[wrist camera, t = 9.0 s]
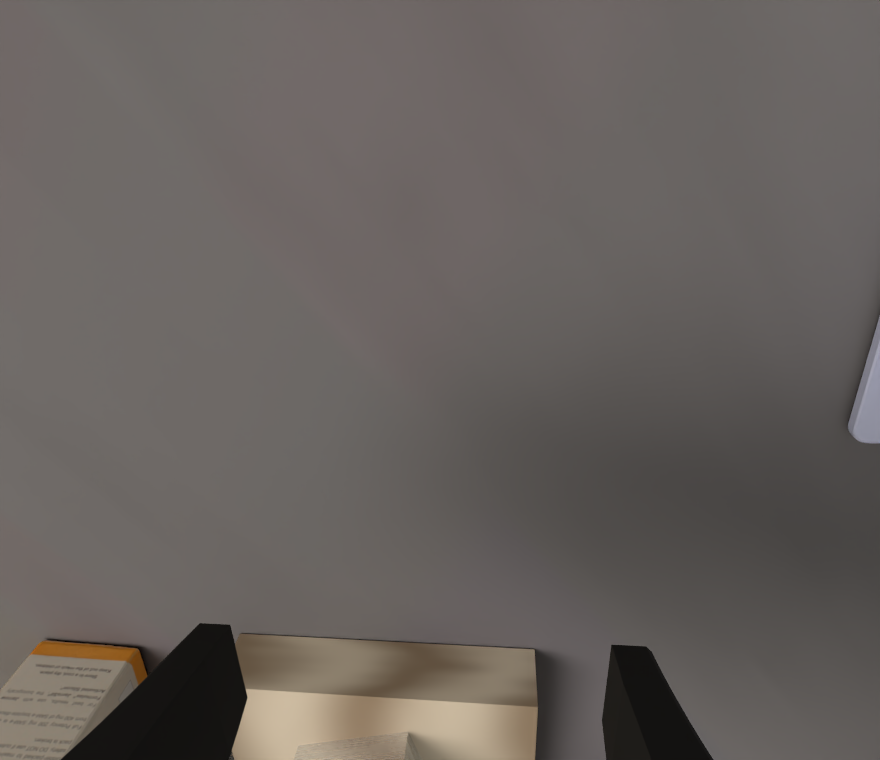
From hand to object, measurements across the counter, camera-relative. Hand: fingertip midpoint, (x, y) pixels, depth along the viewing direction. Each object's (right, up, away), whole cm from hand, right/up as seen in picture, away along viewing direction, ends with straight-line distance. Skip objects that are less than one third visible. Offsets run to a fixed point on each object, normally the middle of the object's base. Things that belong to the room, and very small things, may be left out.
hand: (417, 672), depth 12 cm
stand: (-2, -10, +16) cm, 19 cm away
